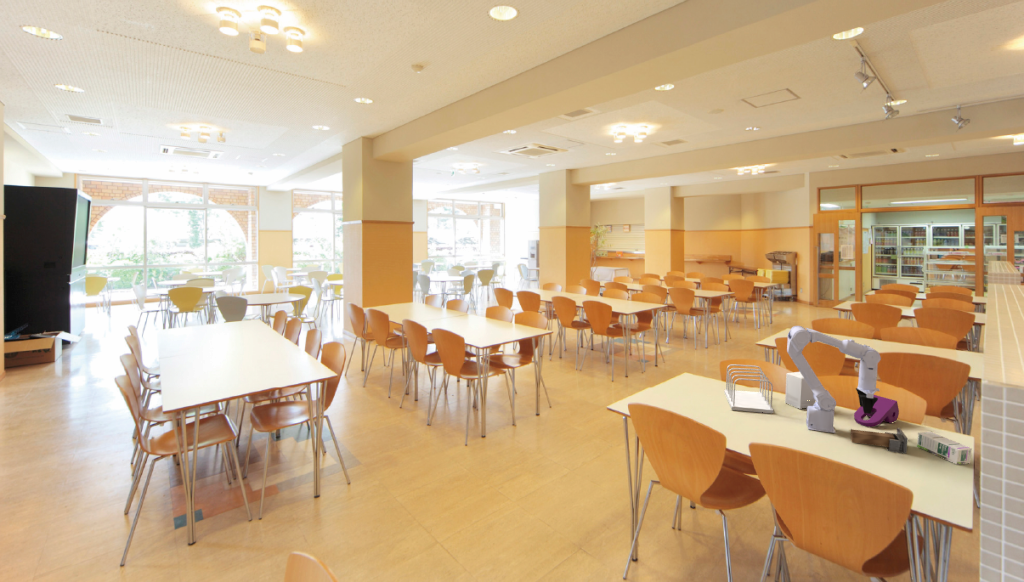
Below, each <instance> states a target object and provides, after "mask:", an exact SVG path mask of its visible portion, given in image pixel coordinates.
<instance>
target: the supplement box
mask: <svg viewBox="0 0 1024 582" xmlns="http://www.w3.org/2000/svg"><path fill="white" fill-rule="evenodd" d="M785 376H786V378H785V398H784V399H785V400H784V403H785V404H786V403H787V405H788V404H790V405H789V406H791V405H792V406H791V407H793V406H794V407H793V408H795V409H798V408H799V409H798V410H803V409H802V408H806V409H807V407H808V406H814V403H815V402H816V401H815V399H814V397H813V392H812V390H811V388H810V387H809V385H808V384H807V382H806V381H805V379H804V377H803V376H802V374H801V373H800V371H795V372H787V373H786V374H785ZM807 400H808V401H807ZM809 400H810V401H809Z"/></svg>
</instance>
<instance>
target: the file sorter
mask: <svg viewBox="0 0 1024 582" xmlns="http://www.w3.org/2000/svg"><path fill="white" fill-rule="evenodd" d="M732 366H734V367H732ZM730 367H732V368H730ZM739 367H751V368H739ZM729 368H730V369H729ZM732 370H735V371H732ZM737 370H738V371H737ZM730 372H731V373H730ZM735 373H736V374H735ZM737 373H738V374H737ZM739 373H740V374H739ZM742 373H743V374H742ZM733 374H734V375H733ZM750 374H751V375H750ZM752 374H754V375H752ZM756 374H758V375H756ZM732 375H733V376H732ZM736 377H740V378H737V379H735V380H734V378H736ZM741 377H747V378H741ZM748 377H749V378H748ZM750 377H751V378H750ZM754 378H759V379H754ZM725 380H726V382H725V383H726V385H725V386H726V387H725V389H724V390H723V391H724V395H725V397H726V399H727V402H728V404H729V406H730V409H731V411H739V412H740V411H741V412H743V411H744V412H751V413H752V412H753V413H762V412H763V414H772V413H773V414H774V409H773V391H774V390H773V388H774V386H773V383H772V382H771V381H770V380H769V378H768V377H767V375H766V374H765V373H764V371H763V370H762V368H761V367H760V366H758V365H754V364H753V365H751V364H729V365H727V367H726V379H725ZM733 381H734V382H733ZM737 381H750V382H751V381H752V382H759V391H749V390H748V391H746V390H736V383H737ZM770 386H771V389H770ZM769 395H770V396H769ZM769 398H770V399H769ZM769 402H770V403H769Z"/></svg>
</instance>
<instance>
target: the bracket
mask: <svg viewBox="0 0 1024 582" xmlns="http://www.w3.org/2000/svg"><path fill="white" fill-rule="evenodd" d="M884 433H887V434H893V436H894V437H895V440H894V439H889V447H885V449H886V450H887V452H892V453H898V454H905V455H906V454H907V451H908V442H909V441H908V437H907V435H906V434H905V433H904V432H903V430H902V429H901V428H900V427H896V433H895V432H888V431H886V432H884Z"/></svg>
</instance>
